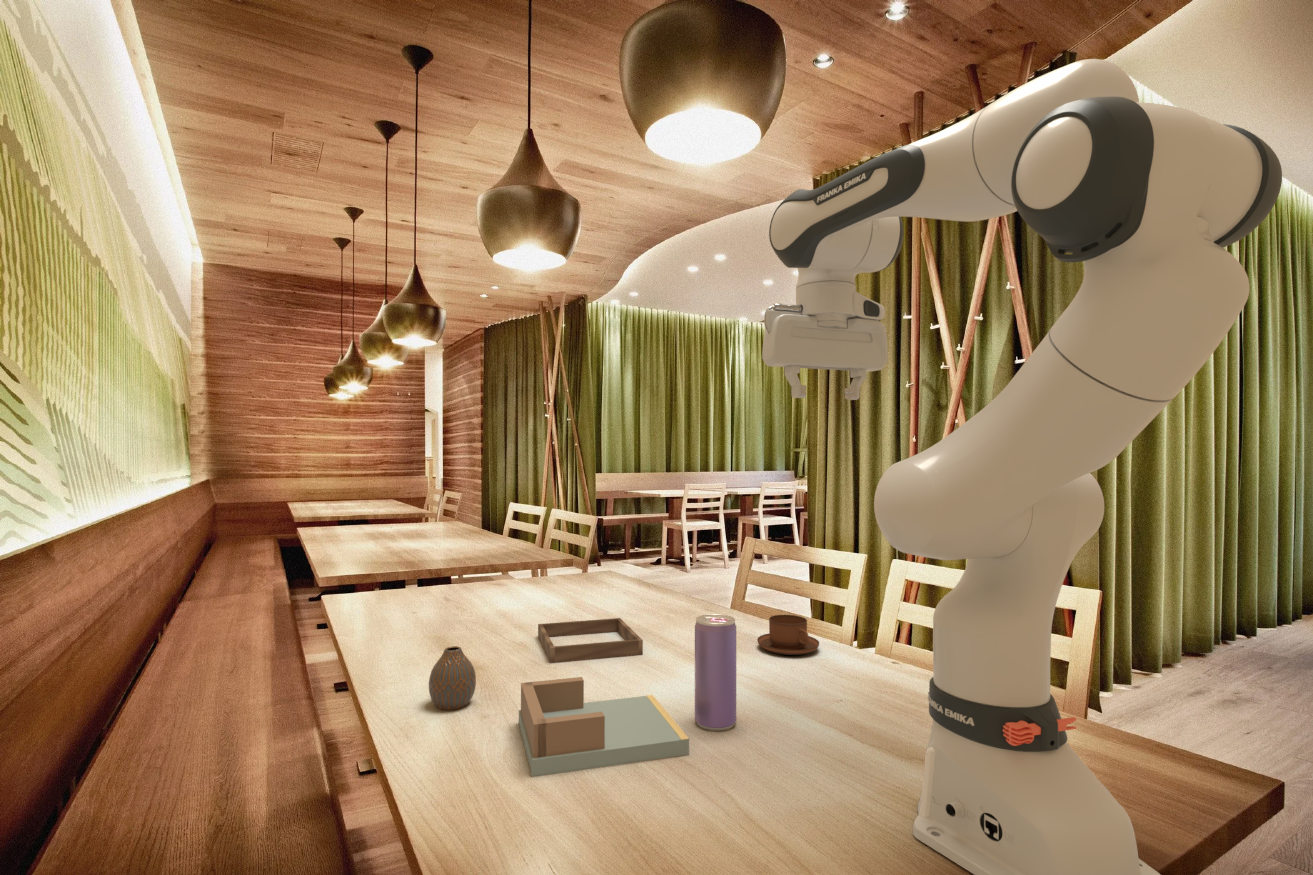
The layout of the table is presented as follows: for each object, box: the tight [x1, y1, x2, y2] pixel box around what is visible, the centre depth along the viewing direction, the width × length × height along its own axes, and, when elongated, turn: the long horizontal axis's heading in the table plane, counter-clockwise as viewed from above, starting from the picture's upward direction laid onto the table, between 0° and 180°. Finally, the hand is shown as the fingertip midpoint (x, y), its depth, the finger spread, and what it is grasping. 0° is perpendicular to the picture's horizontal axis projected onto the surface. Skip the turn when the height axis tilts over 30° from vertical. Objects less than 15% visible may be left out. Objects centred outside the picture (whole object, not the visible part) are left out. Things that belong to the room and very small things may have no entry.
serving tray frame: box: [537, 617, 644, 664], centre depth 131 cm, size 18×18×3 cm
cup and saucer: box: [756, 614, 820, 656], centre depth 130 cm, size 12×12×6 cm
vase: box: [428, 645, 477, 711], centre depth 101 cm, size 7×7×9 cm
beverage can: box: [694, 613, 737, 732], centre depth 95 cm, size 6×6×15 cm
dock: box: [518, 676, 690, 778], centre depth 89 cm, size 16×20×6 cm
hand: (825, 398), depth 100 cm, fingers open, 8 cm apart
